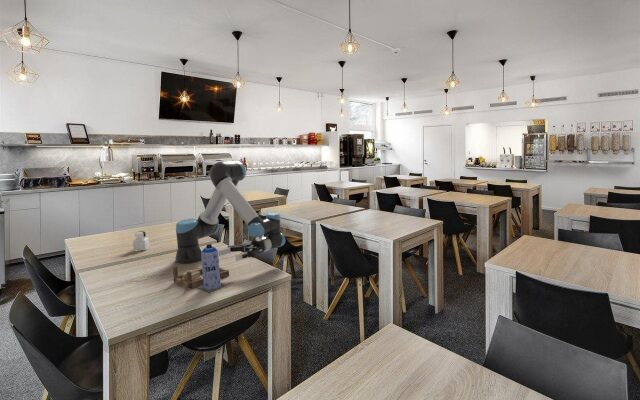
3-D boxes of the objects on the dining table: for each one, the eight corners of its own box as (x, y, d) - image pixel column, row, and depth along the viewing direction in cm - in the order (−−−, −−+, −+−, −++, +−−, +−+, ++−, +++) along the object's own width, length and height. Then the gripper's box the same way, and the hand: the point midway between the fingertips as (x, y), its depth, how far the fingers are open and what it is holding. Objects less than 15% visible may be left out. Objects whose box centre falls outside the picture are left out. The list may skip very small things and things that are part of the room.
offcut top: (183, 278, 167) (182, 273, 166) (191, 274, 171) (190, 269, 171) (192, 280, 164) (192, 274, 164) (200, 276, 169) (200, 271, 168)
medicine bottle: (138, 248, 230) (136, 230, 229) (149, 247, 231) (147, 230, 229) (134, 251, 223) (132, 233, 222) (145, 250, 224) (143, 232, 222)
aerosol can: (202, 290, 157) (199, 247, 154) (203, 283, 165) (200, 243, 162) (220, 287, 159) (217, 245, 156) (220, 281, 167) (217, 241, 164)
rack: (174, 282, 168) (172, 266, 167) (213, 269, 185) (212, 255, 184) (189, 289, 160) (188, 272, 159) (229, 275, 177) (228, 260, 175)
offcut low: (182, 283, 168) (182, 277, 168) (194, 279, 173) (193, 273, 172) (190, 286, 164) (189, 280, 163) (201, 282, 168) (201, 277, 168)
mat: (196, 287, 161) (196, 286, 161) (215, 281, 169) (215, 280, 169) (208, 292, 155) (208, 292, 155) (227, 285, 163) (227, 284, 163)
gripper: (277, 256, 176) (244, 268, 160) (246, 248, 192) (213, 258, 176) (276, 242, 175) (243, 252, 159) (245, 235, 191) (211, 244, 175)
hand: (227, 255), depth 167 cm, fingers open, 13 cm apart
